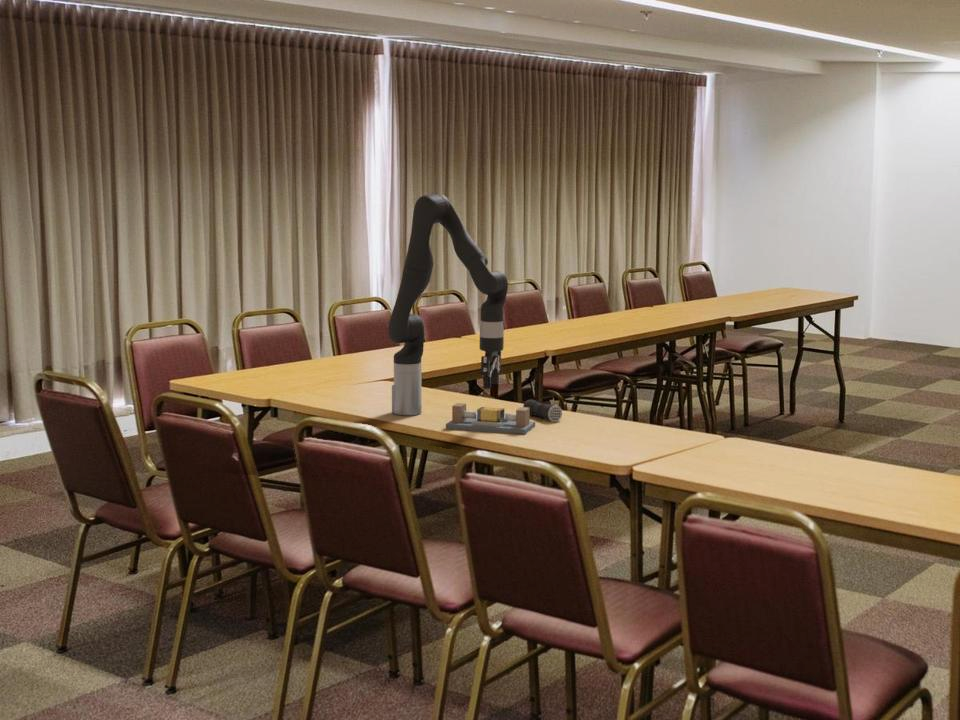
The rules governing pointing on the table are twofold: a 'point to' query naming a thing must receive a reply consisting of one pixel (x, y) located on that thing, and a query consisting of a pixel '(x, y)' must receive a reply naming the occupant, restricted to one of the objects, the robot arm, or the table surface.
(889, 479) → the table surface
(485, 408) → the coupler
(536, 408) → the flashlight
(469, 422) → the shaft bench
